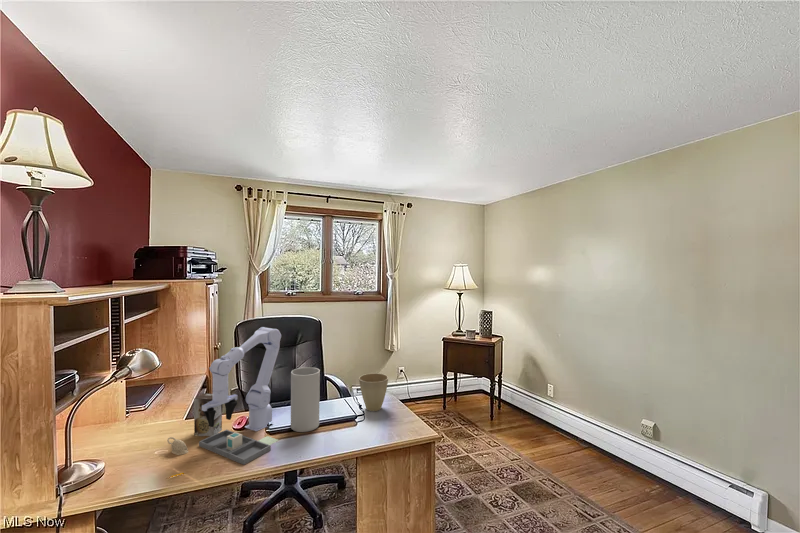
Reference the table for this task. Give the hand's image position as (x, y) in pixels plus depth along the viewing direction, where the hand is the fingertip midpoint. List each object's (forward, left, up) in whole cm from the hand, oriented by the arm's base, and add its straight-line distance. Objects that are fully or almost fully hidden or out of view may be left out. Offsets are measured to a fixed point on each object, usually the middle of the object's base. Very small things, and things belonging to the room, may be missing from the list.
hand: (220, 422), depth 149 cm
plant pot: (-62, +34, -9) cm, 71 cm away
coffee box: (-3, -12, -9) cm, 15 cm away
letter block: (0, +9, -8) cm, 12 cm away
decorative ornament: (+13, -7, -9) cm, 17 cm away
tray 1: (0, 0, -8) cm, 8 cm away
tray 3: (0, +18, -8) cm, 20 cm away
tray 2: (0, +9, -8) cm, 12 cm away
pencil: (+16, +11, -9) cm, 21 cm away
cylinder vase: (-29, +19, -9) cm, 36 cm away
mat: (-10, +16, -8) cm, 20 cm away
